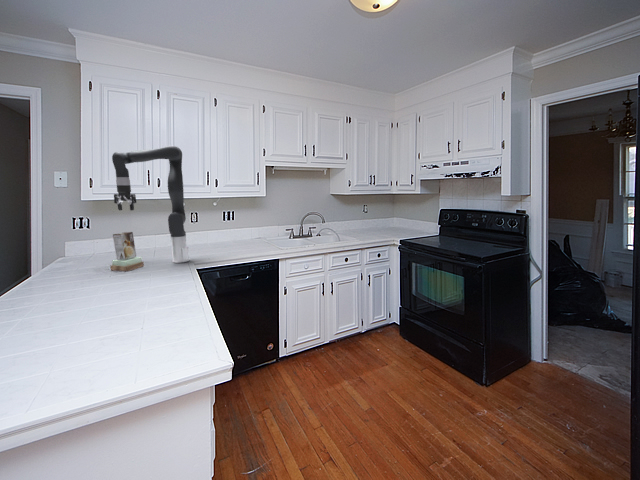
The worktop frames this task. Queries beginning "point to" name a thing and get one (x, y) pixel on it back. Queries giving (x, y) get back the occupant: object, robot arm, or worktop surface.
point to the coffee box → (124, 245)
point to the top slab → (126, 261)
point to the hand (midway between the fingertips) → (126, 210)
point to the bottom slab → (127, 267)
